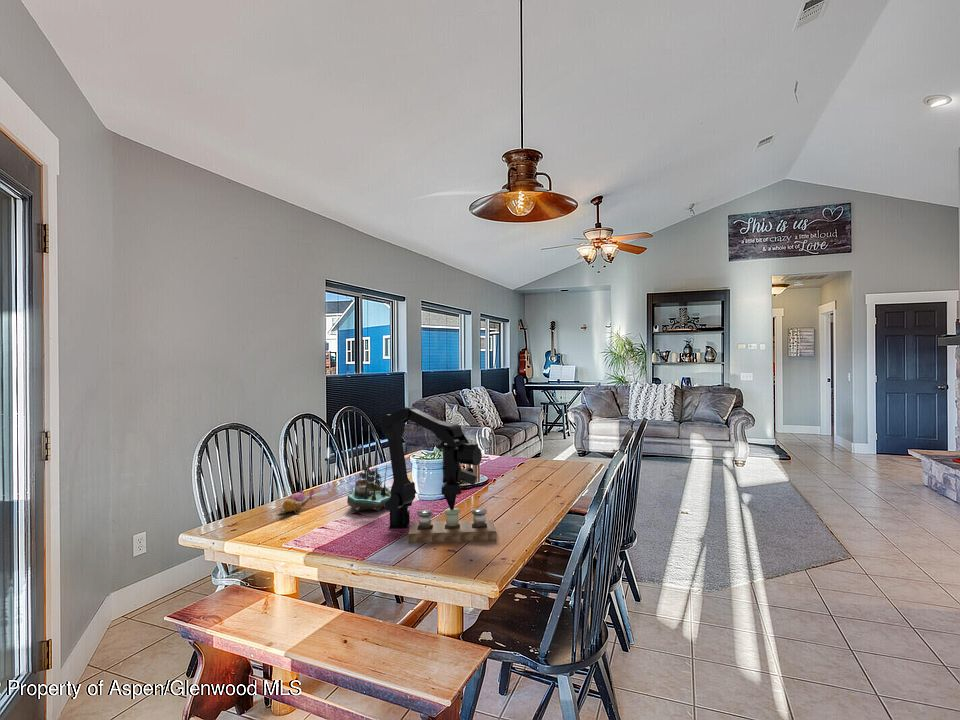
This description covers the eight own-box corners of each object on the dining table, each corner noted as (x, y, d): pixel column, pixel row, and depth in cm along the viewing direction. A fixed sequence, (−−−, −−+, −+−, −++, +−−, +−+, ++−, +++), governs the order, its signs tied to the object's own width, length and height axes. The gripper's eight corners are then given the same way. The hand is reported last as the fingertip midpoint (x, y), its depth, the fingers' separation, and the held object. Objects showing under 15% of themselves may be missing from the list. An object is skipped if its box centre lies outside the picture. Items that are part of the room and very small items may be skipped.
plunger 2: (472, 527, 173) (471, 512, 173) (471, 522, 178) (471, 508, 178) (487, 526, 174) (487, 512, 174) (486, 522, 179) (486, 508, 179)
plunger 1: (417, 528, 173) (416, 514, 173) (418, 523, 178) (418, 509, 178) (432, 528, 173) (432, 513, 173) (433, 523, 178) (432, 509, 178)
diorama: (343, 514, 200) (347, 463, 200) (354, 498, 225) (358, 453, 225) (393, 518, 201) (397, 467, 201) (399, 501, 226) (403, 456, 226)
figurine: (320, 487, 229) (301, 499, 199) (320, 503, 228) (300, 517, 198) (293, 487, 228) (269, 500, 198) (293, 503, 227) (268, 518, 198)
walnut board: (408, 543, 169) (408, 533, 169) (411, 530, 181) (411, 522, 181) (495, 540, 170) (495, 531, 170) (493, 528, 182) (493, 519, 182)
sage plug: (444, 526, 173) (444, 512, 173) (445, 522, 178) (444, 508, 178) (459, 526, 173) (459, 512, 173) (459, 521, 178) (459, 507, 178)
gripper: (476, 467, 167) (477, 517, 167) (474, 456, 185) (475, 501, 185) (441, 468, 166) (441, 518, 166) (442, 457, 185) (443, 502, 185)
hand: (452, 509), depth 176 cm, fingers closed
